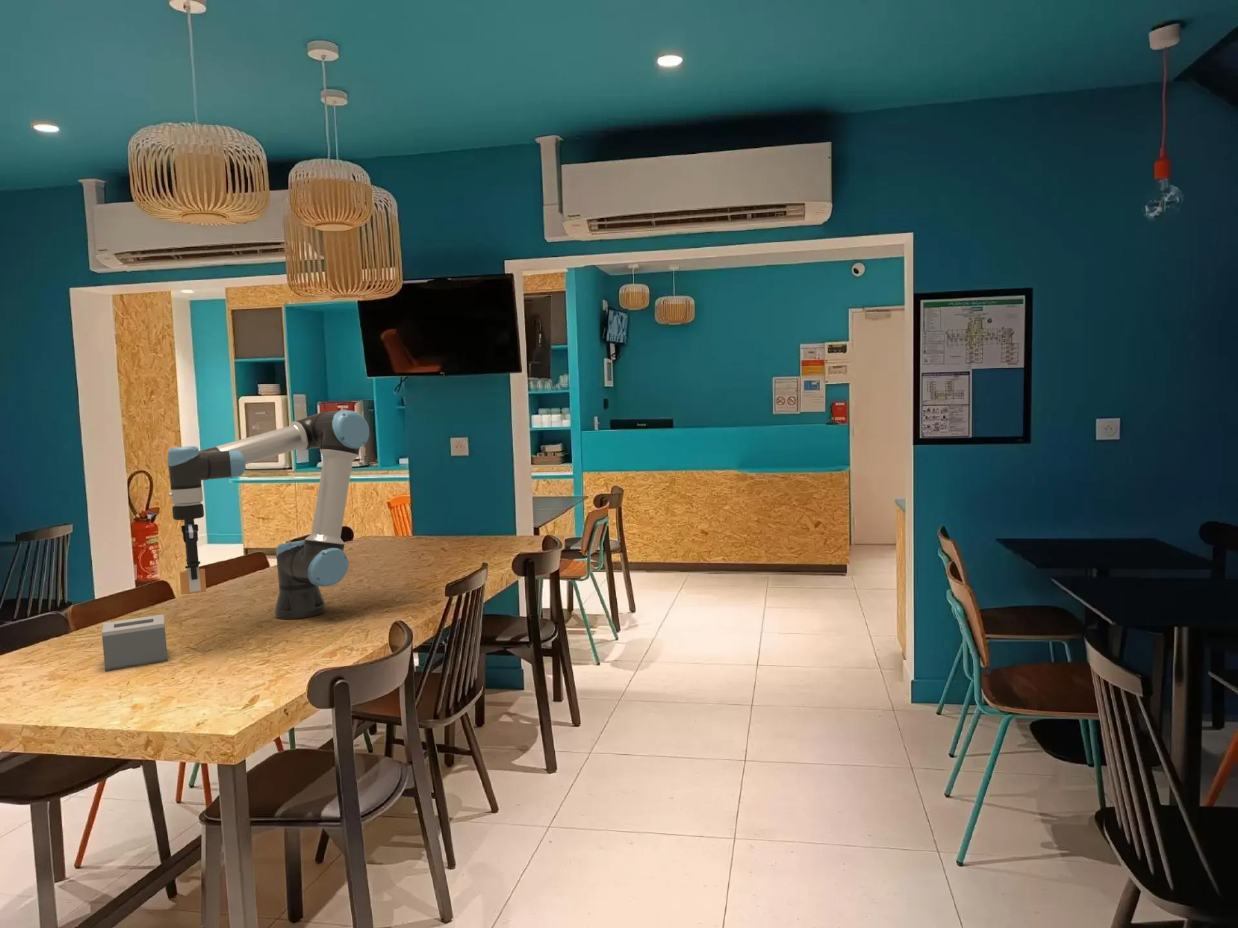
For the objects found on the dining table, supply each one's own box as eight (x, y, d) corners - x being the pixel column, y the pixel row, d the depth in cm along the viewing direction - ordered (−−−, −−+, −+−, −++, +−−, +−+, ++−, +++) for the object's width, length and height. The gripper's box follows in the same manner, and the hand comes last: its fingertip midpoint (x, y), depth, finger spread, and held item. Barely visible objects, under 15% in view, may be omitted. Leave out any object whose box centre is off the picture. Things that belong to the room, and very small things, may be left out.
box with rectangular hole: (166, 650, 232) (163, 614, 231) (167, 660, 221) (164, 623, 221) (107, 659, 225) (103, 622, 224) (105, 671, 215) (101, 632, 214)
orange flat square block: (205, 590, 232) (204, 568, 232) (206, 591, 230) (204, 569, 230) (181, 593, 230) (179, 571, 229) (181, 594, 227) (179, 572, 227)
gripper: (171, 503, 233) (178, 587, 235) (172, 507, 220) (180, 597, 221) (201, 500, 237) (208, 583, 239) (204, 504, 223) (212, 592, 225)
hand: (195, 589), depth 230 cm, fingers closed on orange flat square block, 2 cm apart
